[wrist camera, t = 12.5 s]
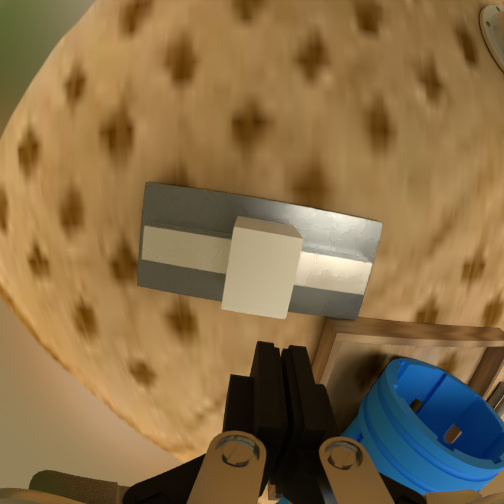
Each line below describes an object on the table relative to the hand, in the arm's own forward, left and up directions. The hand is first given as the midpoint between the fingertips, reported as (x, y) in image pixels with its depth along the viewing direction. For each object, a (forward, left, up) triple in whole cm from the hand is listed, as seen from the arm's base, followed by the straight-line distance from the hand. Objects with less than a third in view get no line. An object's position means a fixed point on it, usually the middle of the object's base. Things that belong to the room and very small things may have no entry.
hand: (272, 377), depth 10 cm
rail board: (0, +1, -19) cm, 19 cm away
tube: (-19, +23, -19) cm, 36 cm away
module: (0, +1, -18) cm, 18 cm away
